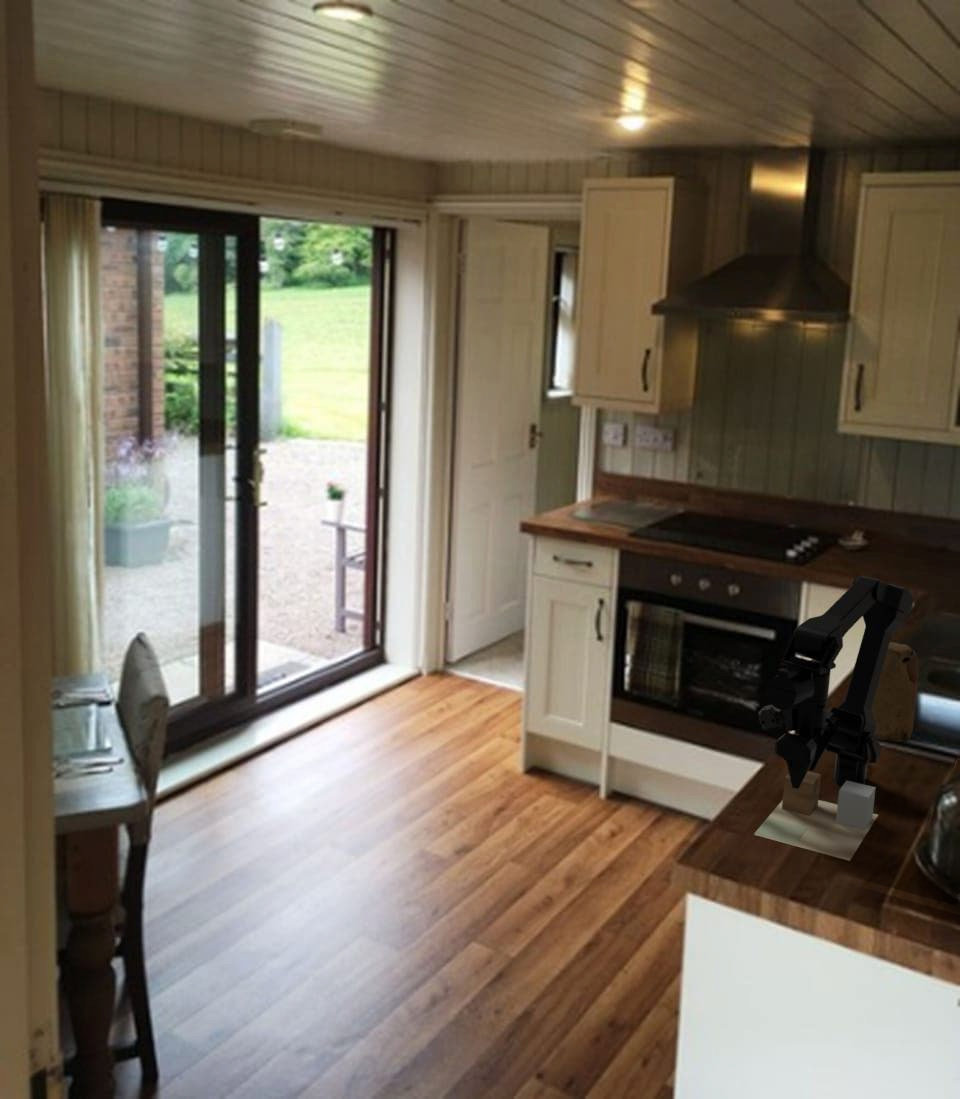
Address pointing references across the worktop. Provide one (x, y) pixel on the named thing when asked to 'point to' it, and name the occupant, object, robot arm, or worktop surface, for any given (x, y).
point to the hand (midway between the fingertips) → (803, 778)
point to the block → (896, 694)
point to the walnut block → (802, 794)
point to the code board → (814, 830)
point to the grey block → (855, 805)
